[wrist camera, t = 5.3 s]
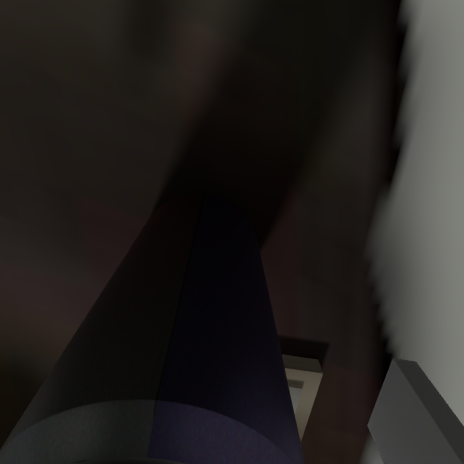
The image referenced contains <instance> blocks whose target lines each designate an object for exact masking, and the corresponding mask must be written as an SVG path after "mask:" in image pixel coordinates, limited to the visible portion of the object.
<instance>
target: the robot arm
mask: <svg viewBox="0 0 464 464" xmlns="http://www.w3.org/2000/svg"><path fill="white" fill-rule="evenodd" d="M367 426H368V428H369V431H370V433H371V435H372V437H373V440H374V442H375V444H376V446H377V449H378V451H379V453H380V456H381V458H382V460H383V462H384V464H464V426H463V425H462V423H461V422H460V421H459V419H458V418H457V417H456V415H455V414H454V413H453V411H452V410H451V409H450V407H449V406H448V404H447V403H446V402H445V400H444V399H443V398H442V396H441V395H440V394H439V392H438V391H437V390H436V388H435V387H434V385H433V384H432V383H431V381H430V380H429V379H428V377H427V376H426V375H425V373H424V372H423V371H422V369H421V368H420V367H419V365H418V364H417V362H414V361H408V360H401V359H394V358H393V360H392V362H391V365H390V367H389V370H388V373H387V375H386V378H385V381H384V383H383V386H382V389H381V391H380V394H379V396H378V399H377V402H376V404H375V407H374V410H373V412H372V415H371V417H370V420H369V423H368V425H367Z"/></svg>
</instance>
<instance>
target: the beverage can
mask: <svg viewBox="0 0 464 464" xmlns="http://www.w3.org/2000/svg"><path fill="white" fill-rule="evenodd" d="M0 464H305V461H304V456H303V451H302V447H301V442H300V437H299V433H298V428H297V423H296V419H295V414H294V409H293V404H292V400H291V395H290V390H289V386H288V381H287V376H286V372H285V367H284V362H283V358H282V353H281V348H280V344H279V339H278V334H277V329H276V325H275V320H274V315H273V311H272V306H271V301H270V297H269V292H268V287H267V283H266V278H265V273H264V269H263V264H262V259H261V254H260V250H259V245H258V240H257V236H256V233H255V230H254V228H253V226H252V224H251V222H250V220H249V219H248V218H247V216H246V215H245V214H244V213H243V212H242V211H241V210H240V209H239V208H238V207H237V206H235V205H234V204H232V203H231V202H229V201H227V200H225V199H223V198H220V197H218V196H214V195H210V194H201V193H195V194H187V195H182V196H179V197H176V198H173V199H171V200H169V201H167V202H166V203H164V204H163V205H162V206H160V207H159V208H158V209H157V210H156V211H155V212H154V213H153V214H152V215H151V217H150V218H149V220H148V221H147V223H146V224H145V226H144V227H143V229H142V230H141V232H140V234H139V235H138V237H137V238H136V240H135V241H134V243H133V244H132V246H131V247H130V249H129V251H128V252H127V254H126V255H125V257H124V258H123V260H122V261H121V263H120V265H119V266H118V268H117V269H116V271H115V272H114V274H113V275H112V277H111V278H110V280H109V282H108V283H107V285H106V286H105V288H104V289H103V291H102V292H101V294H100V296H99V297H98V299H97V300H96V302H95V303H94V305H93V306H92V308H91V309H90V311H89V313H88V314H87V316H86V317H85V319H84V320H83V322H82V323H81V325H80V327H79V328H78V330H77V331H76V333H75V334H74V336H73V337H72V339H71V340H70V342H69V344H68V345H67V347H66V348H65V350H64V351H63V353H62V354H61V356H60V357H59V359H58V361H57V362H56V364H55V365H54V367H53V368H52V370H51V371H50V373H49V375H48V376H47V378H46V379H45V381H44V382H43V384H42V385H41V387H40V388H39V390H38V392H37V393H36V395H35V396H34V398H33V399H32V401H31V402H30V404H29V406H28V407H27V409H26V410H25V412H24V413H23V415H22V416H21V418H20V419H19V421H18V423H17V424H16V426H15V427H14V429H13V430H12V432H11V433H10V435H9V437H8V438H7V440H6V441H5V443H4V444H3V446H2V447H1V449H0Z"/></svg>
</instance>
